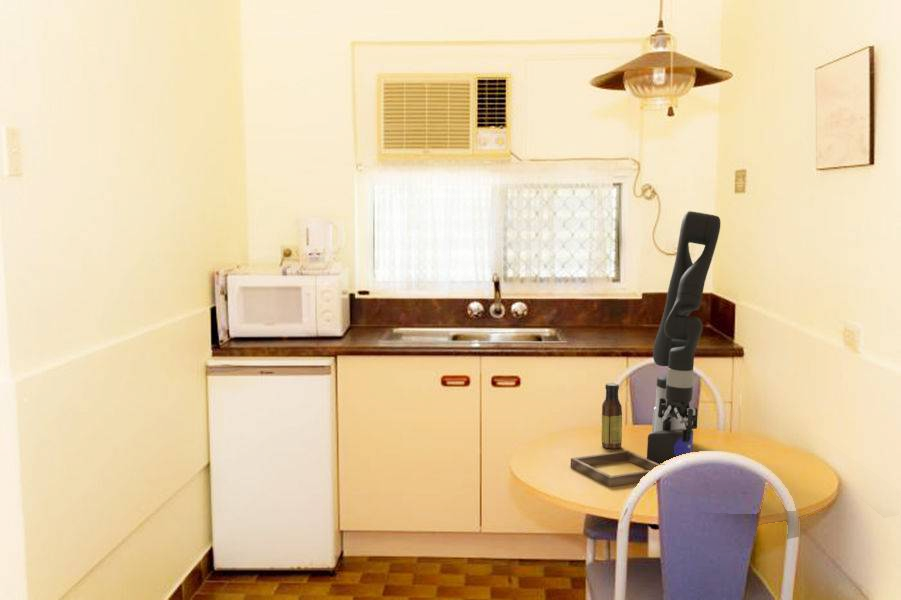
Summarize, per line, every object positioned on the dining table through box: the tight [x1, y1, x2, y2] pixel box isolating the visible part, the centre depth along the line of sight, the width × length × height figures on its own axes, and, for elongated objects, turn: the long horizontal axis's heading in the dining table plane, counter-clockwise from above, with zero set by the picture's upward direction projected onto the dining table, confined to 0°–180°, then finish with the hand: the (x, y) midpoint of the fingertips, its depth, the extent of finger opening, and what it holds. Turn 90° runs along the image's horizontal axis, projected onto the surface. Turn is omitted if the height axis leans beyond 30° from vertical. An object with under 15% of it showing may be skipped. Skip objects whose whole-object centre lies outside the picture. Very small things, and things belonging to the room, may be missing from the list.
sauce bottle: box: [601, 382, 623, 450], centre depth 261 cm, size 7×6×20 cm
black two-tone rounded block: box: [646, 429, 694, 465], centre depth 248 cm, size 16×5×9 cm, turn 115°
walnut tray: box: [570, 450, 661, 488], centre depth 238 cm, size 18×20×2 cm
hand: (676, 437), depth 247 cm, fingers open, 8 cm apart
